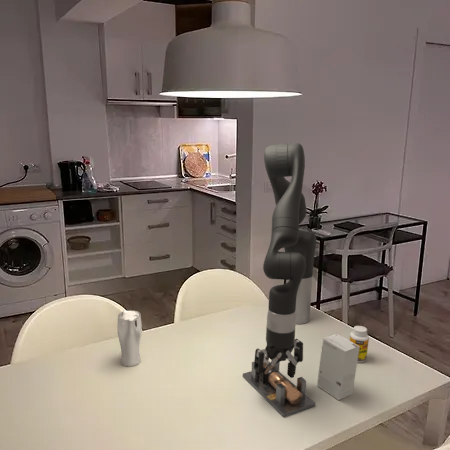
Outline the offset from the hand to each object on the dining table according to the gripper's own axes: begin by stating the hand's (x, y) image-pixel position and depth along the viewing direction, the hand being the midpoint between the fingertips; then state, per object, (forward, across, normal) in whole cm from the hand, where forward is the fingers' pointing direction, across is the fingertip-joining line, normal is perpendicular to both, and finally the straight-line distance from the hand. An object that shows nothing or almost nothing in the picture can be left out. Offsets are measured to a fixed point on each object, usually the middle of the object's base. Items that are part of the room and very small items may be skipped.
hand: (277, 380), depth 125 cm
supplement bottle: (+4, +32, +3) cm, 32 cm away
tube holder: (+3, 0, 0) cm, 3 cm away
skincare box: (+4, +14, -7) cm, 16 cm away
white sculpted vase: (+3, -31, +32) cm, 45 cm away
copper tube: (+2, 0, 0) cm, 2 cm away
